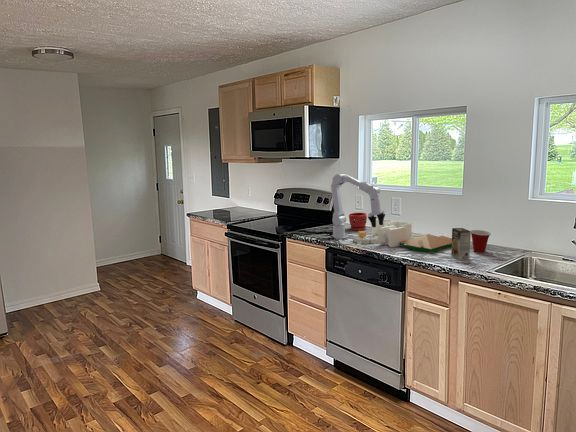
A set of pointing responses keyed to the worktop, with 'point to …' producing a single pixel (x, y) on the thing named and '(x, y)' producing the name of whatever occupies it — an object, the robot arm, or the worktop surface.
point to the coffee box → (460, 243)
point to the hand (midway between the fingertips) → (377, 226)
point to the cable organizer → (391, 235)
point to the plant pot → (358, 221)
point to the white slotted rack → (390, 222)
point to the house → (428, 242)
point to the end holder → (372, 240)
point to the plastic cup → (479, 240)
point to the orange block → (361, 234)
